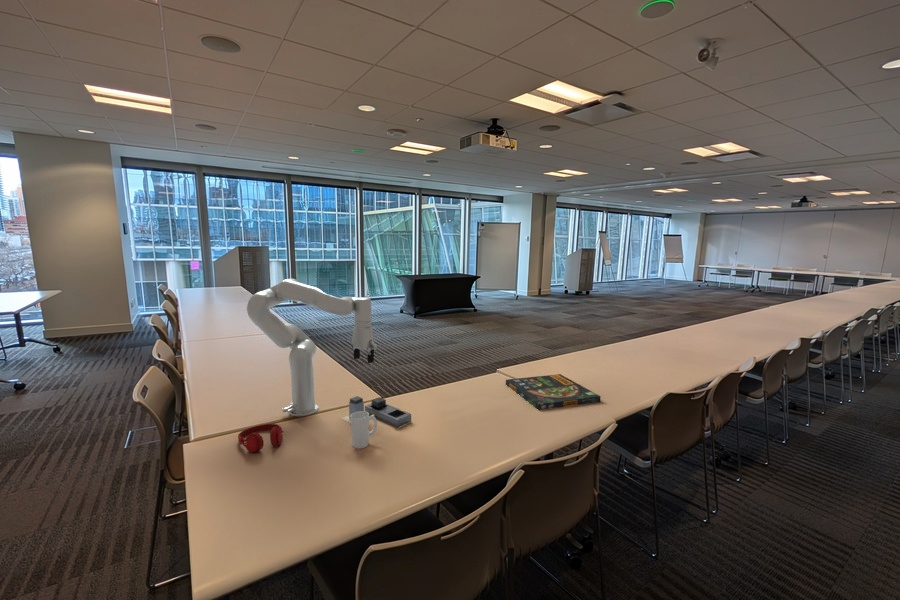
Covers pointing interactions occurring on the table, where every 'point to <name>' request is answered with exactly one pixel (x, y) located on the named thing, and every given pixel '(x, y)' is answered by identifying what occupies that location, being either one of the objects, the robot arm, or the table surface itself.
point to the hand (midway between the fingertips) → (363, 360)
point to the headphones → (260, 437)
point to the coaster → (346, 419)
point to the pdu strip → (388, 413)
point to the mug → (361, 428)
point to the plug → (355, 405)
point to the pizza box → (552, 391)
